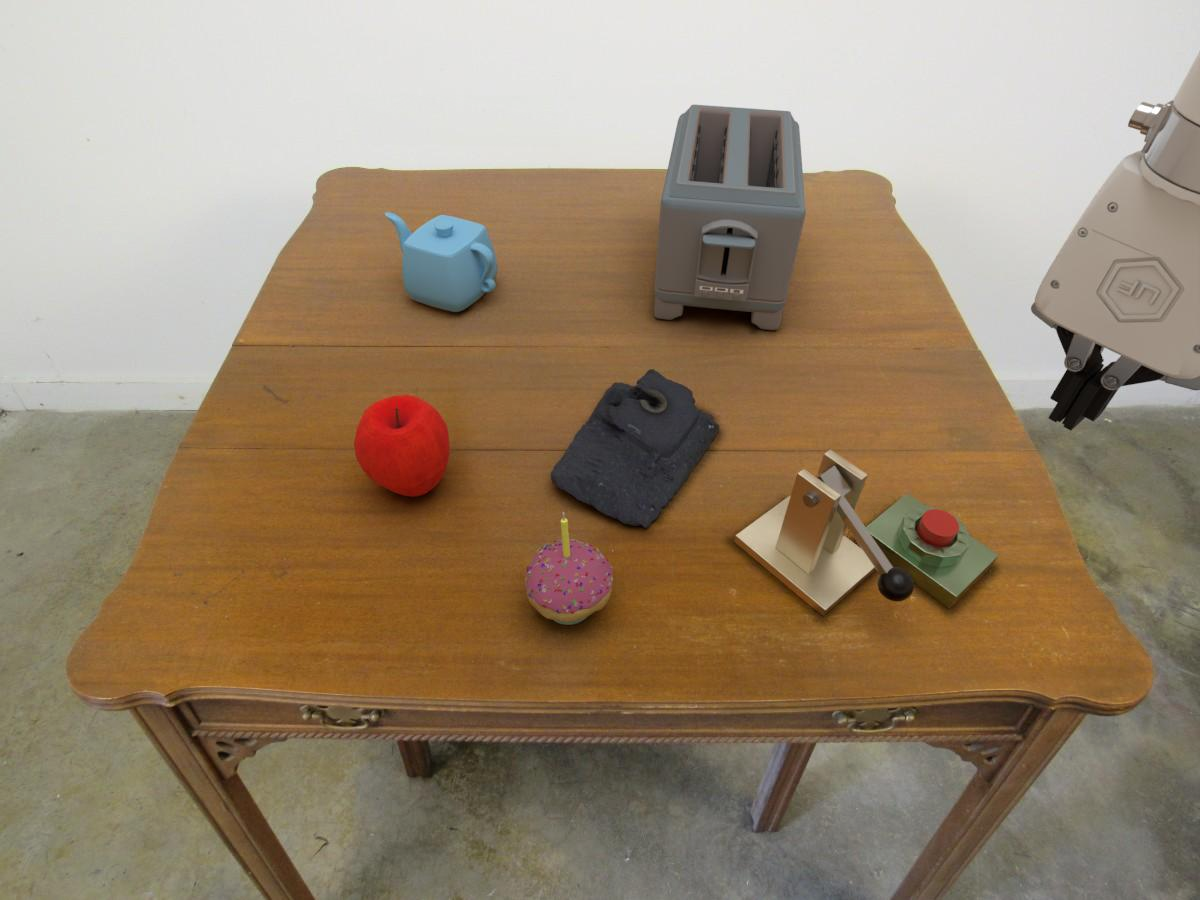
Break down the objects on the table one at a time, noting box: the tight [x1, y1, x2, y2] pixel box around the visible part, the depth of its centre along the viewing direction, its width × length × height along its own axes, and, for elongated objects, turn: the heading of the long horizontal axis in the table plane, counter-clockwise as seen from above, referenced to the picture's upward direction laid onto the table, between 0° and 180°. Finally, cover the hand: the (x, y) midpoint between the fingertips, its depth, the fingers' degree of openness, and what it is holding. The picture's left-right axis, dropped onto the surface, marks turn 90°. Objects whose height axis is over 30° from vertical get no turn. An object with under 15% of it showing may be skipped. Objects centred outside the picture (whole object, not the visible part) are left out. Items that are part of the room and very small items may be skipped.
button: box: [917, 508, 959, 547], centre depth 76 cm, size 4×4×2 cm
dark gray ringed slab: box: [550, 368, 720, 529], centre depth 87 cm, size 15×22×5 cm
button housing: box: [865, 492, 1000, 609], centre depth 77 cm, size 11×8×4 cm
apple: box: [353, 394, 451, 498], centre depth 80 cm, size 10×10×12 cm
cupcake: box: [524, 511, 614, 626], centre depth 70 cm, size 9×8×12 cm
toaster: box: [653, 104, 807, 331], centre depth 109 cm, size 19×33×20 cm, turn 171°
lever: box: [814, 466, 915, 602], centre depth 70 cm, size 14×3×3 cm, turn 39°
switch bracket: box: [733, 448, 877, 617], centre depth 74 cm, size 12×9×13 cm
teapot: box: [384, 211, 498, 313], centre depth 109 cm, size 12×18×12 cm
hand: (1069, 415), depth 51 cm, fingers closed
